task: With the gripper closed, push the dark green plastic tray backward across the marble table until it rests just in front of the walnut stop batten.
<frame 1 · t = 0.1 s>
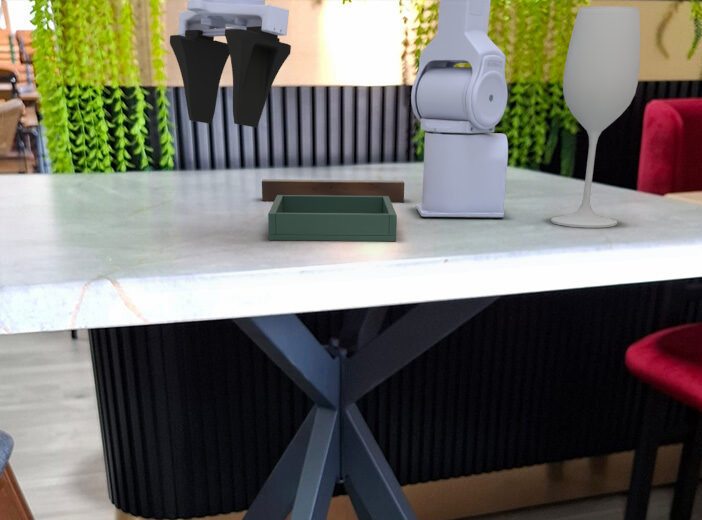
hand: (222, 123, 81), 10 cm above the table, tool pointing down, fingers open, 7 cm apart
stop batten: (333, 200, 114), on the table
tray: (332, 229, 94), on the table
wineglass: (583, 224, 100), on the table
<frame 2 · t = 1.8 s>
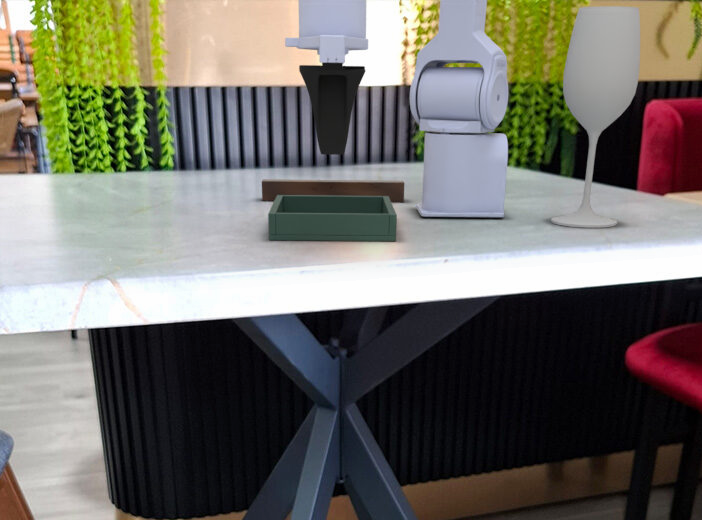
hand: (332, 154, 80), 8 cm above the table, tool pointing down, fingers closed
nothing on the table moved.
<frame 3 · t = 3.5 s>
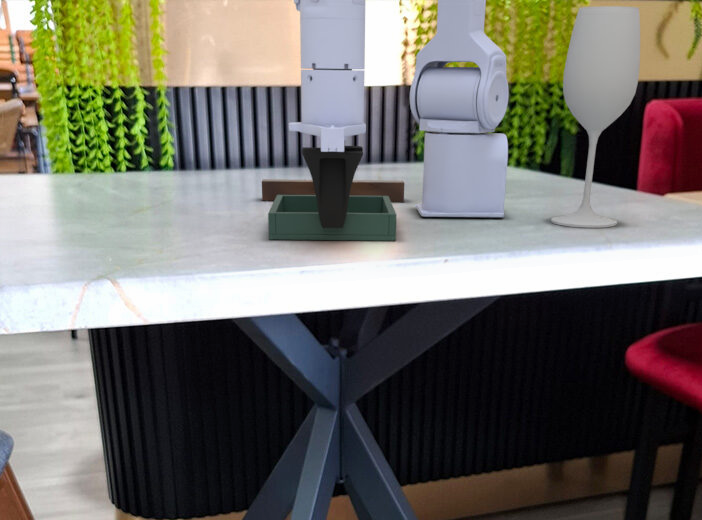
hand: (332, 227, 86), 1 cm above the table, tool pointing down, fingers closed
tray: (332, 228, 94), on the table, touching gripper
everything else where it was.
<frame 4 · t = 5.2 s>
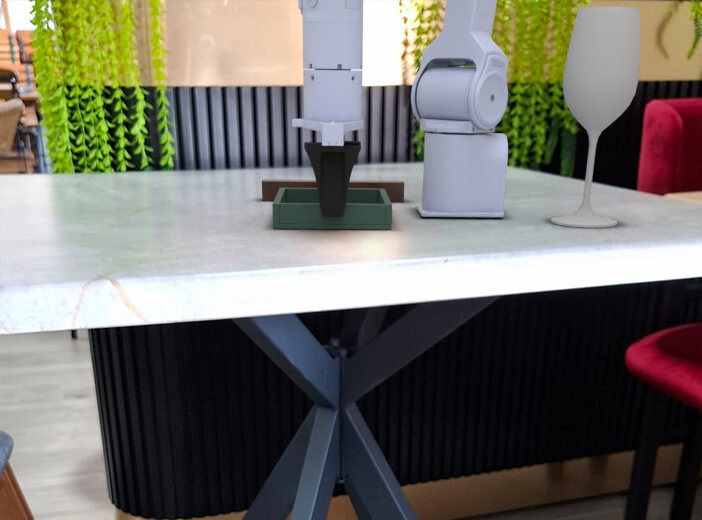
hand: (332, 216, 92), 1 cm above the table, tool pointing down, fingers closed
tray: (332, 219, 100), on the table, touching gripper
everything else where it was.
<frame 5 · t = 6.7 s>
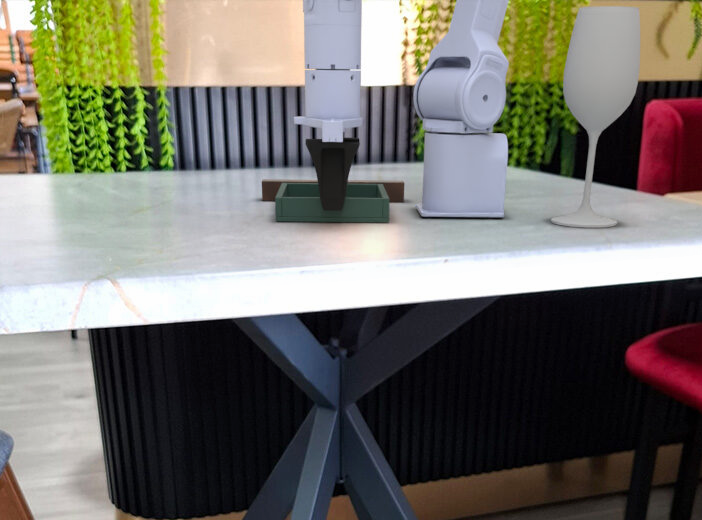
hand: (332, 209, 96), 1 cm above the table, tool pointing down, fingers closed
tray: (332, 212, 104), on the table, touching gripper
everything else where it was.
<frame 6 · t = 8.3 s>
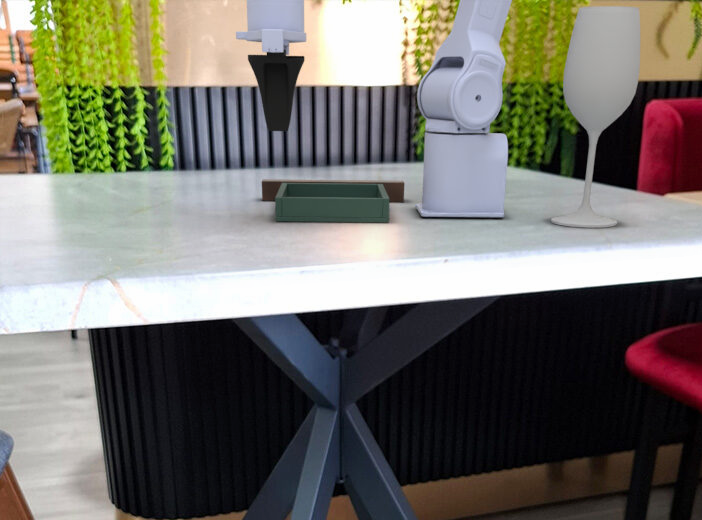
hand: (278, 130, 94), 9 cm above the table, tool pointing down, fingers closed
tray: (332, 212, 104), on the table
everything else where it was.
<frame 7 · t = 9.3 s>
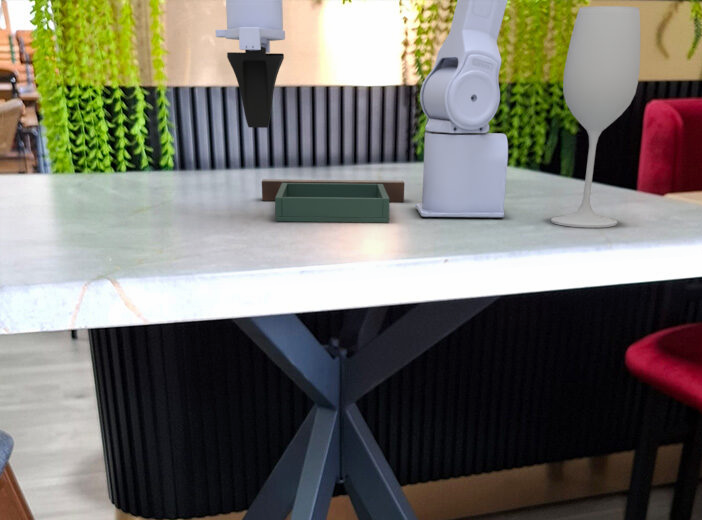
hand: (258, 127, 96), 9 cm above the table, tool pointing down, fingers closed
nothing on the table moved.
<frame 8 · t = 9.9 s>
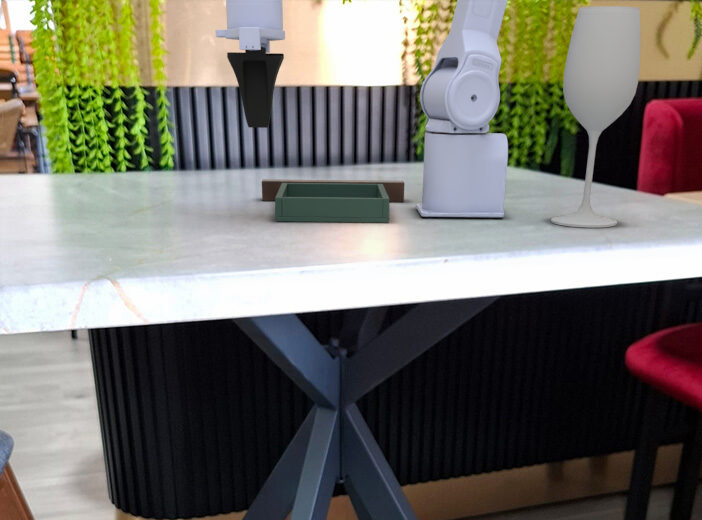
hand: (258, 127, 96), 9 cm above the table, tool pointing down, fingers closed
nothing on the table moved.
at the end: tray inside the target area on the table beside the stop batten (0.1 cm from its centre), on the table; tray moved 11.9 cm from its start; tray tilted 0° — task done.
